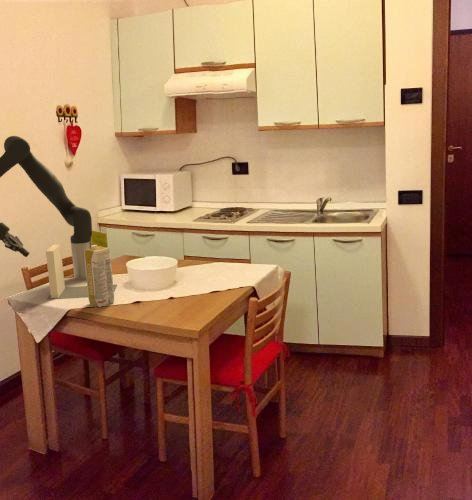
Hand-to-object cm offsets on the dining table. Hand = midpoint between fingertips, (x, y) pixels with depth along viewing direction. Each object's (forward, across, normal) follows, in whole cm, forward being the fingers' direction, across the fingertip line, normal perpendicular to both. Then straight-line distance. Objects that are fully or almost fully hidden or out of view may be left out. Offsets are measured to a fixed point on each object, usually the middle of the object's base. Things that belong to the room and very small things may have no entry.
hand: (27, 255), depth 271 cm
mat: (+28, 0, -3) cm, 28 cm away
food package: (+30, +34, -5) cm, 45 cm away
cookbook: (+20, 0, +4) cm, 20 cm away
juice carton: (+36, -18, -10) cm, 41 cm away
